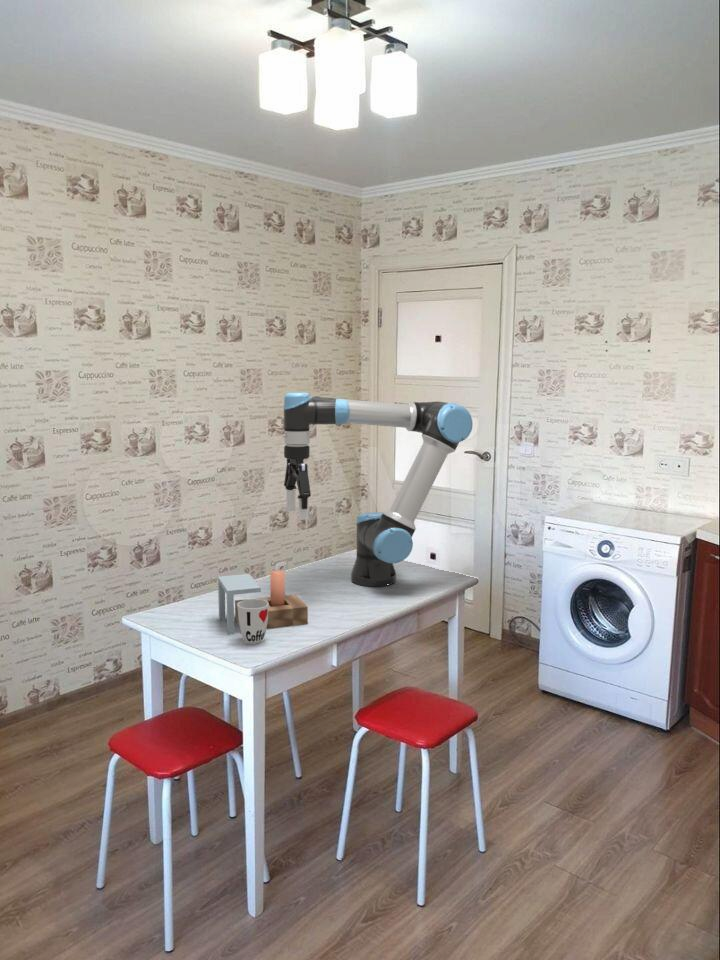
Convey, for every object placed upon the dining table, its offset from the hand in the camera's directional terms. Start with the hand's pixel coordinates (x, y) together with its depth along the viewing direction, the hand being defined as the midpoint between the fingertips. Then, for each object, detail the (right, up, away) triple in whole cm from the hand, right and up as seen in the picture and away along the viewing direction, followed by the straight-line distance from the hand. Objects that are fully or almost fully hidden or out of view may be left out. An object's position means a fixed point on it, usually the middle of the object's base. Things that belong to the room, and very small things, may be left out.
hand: (297, 515), depth 228 cm
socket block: (-6, -29, -14) cm, 33 cm away
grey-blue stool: (-15, -30, -17) cm, 37 cm away
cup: (-9, -32, -29) cm, 44 cm away
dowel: (-4, -29, -13) cm, 32 cm away
